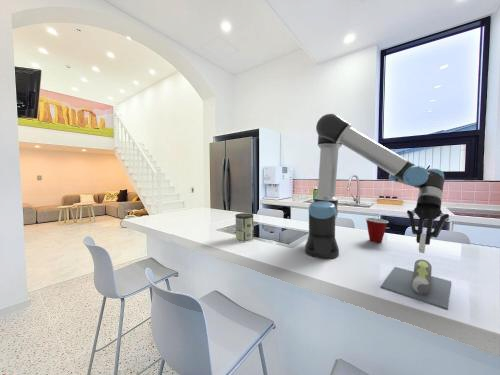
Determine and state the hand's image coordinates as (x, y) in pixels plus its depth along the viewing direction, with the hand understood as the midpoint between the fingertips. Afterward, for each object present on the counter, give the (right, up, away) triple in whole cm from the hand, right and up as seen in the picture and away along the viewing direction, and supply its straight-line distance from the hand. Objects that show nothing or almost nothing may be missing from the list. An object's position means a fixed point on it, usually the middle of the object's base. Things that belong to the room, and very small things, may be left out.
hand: (421, 250), depth 76 cm
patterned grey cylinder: (+3, -6, +2) cm, 7 cm away
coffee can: (-65, -7, +45) cm, 79 cm away
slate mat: (-6, -10, -6) cm, 13 cm away
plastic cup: (+7, -7, +39) cm, 40 cm away
